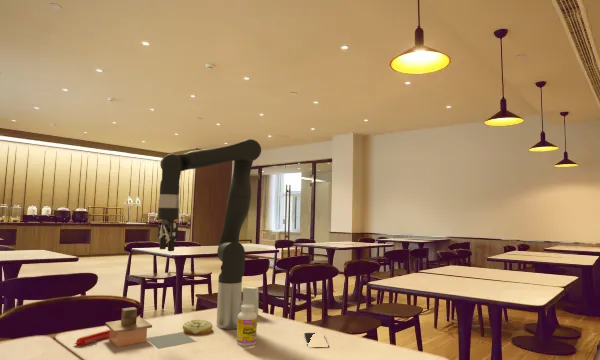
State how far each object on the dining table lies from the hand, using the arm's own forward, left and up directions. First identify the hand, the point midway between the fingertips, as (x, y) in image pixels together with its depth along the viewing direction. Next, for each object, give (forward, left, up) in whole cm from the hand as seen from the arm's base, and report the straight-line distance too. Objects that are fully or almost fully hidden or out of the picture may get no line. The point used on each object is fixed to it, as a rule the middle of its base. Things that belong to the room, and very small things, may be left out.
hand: (166, 250), depth 149 cm
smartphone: (-41, +39, -31) cm, 64 cm away
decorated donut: (-11, +6, -30) cm, 33 cm away
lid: (+13, +3, -25) cm, 28 cm away
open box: (+13, +3, -30) cm, 33 cm away
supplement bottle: (-19, +28, -30) cm, 45 cm away
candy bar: (+21, -4, -31) cm, 37 cm away
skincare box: (-40, -4, -30) cm, 50 cm away
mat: (+1, +11, -30) cm, 32 cm away
